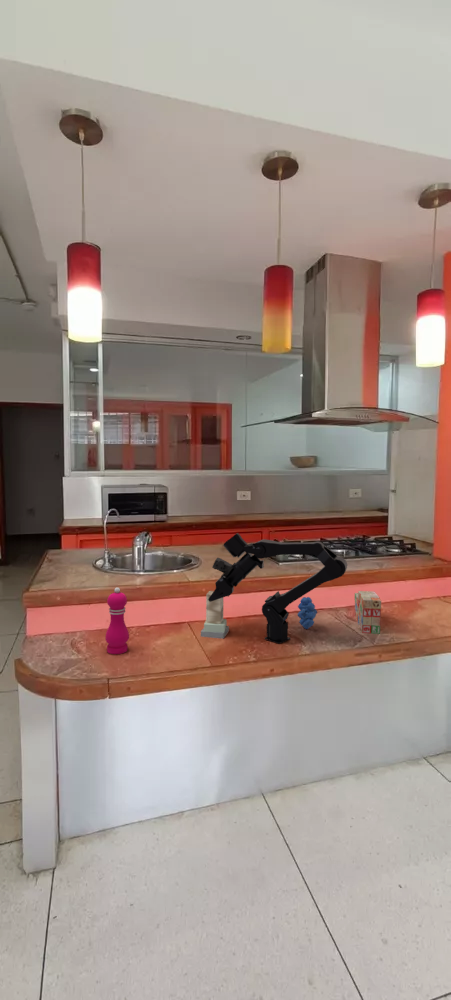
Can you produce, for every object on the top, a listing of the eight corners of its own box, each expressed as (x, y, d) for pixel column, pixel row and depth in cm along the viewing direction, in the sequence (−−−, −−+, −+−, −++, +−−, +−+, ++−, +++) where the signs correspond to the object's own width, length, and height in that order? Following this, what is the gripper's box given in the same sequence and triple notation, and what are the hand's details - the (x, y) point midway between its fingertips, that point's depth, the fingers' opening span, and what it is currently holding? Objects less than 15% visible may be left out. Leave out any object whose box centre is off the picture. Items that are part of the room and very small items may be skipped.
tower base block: (228, 633, 166) (228, 626, 166) (223, 640, 158) (223, 633, 158) (207, 631, 168) (207, 624, 168) (200, 638, 160) (200, 631, 160)
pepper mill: (109, 646, 150) (108, 584, 149) (131, 646, 150) (131, 585, 149) (102, 654, 143) (102, 590, 142) (125, 655, 142) (125, 590, 141)
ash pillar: (223, 619, 165) (223, 591, 164) (220, 624, 160) (220, 595, 159) (209, 618, 166) (209, 590, 165) (206, 623, 161) (206, 594, 160)
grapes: (324, 633, 164) (325, 599, 164) (306, 634, 163) (307, 600, 162) (310, 623, 176) (311, 591, 175) (293, 624, 174) (294, 592, 173)
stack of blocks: (354, 615, 186) (354, 585, 186) (370, 616, 185) (371, 585, 185) (362, 633, 165) (363, 599, 164) (380, 634, 164) (381, 599, 164)
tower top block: (226, 626, 166) (226, 619, 166) (224, 632, 159) (224, 625, 159) (206, 625, 166) (207, 618, 166) (203, 631, 159) (204, 624, 159)
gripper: (230, 546, 170) (200, 575, 172) (222, 555, 152) (188, 587, 154) (252, 568, 169) (221, 597, 171) (246, 580, 151) (212, 612, 153)
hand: (211, 597), depth 162 cm, fingers open, 7 cm apart
